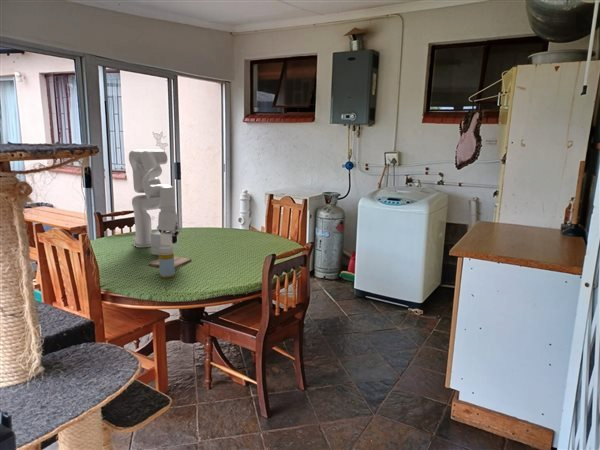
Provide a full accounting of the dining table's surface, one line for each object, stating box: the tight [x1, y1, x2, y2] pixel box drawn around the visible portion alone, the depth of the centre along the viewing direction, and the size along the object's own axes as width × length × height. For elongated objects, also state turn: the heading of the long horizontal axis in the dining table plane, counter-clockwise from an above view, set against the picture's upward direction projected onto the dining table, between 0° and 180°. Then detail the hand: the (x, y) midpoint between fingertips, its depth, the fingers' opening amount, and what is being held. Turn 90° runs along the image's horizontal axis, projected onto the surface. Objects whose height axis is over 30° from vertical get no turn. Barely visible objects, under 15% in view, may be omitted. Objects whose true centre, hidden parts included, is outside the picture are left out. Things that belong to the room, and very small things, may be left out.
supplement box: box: [150, 230, 169, 256], centre depth 244 cm, size 7×7×13 cm
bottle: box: [158, 245, 176, 279], centre depth 206 cm, size 7×7×15 cm
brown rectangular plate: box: [148, 252, 192, 269], centre depth 227 cm, size 16×16×5 cm
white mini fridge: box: [160, 231, 179, 246], centre depth 224 cm, size 6×7×6 cm
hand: (169, 242), depth 225 cm, fingers closed on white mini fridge, 5 cm apart
